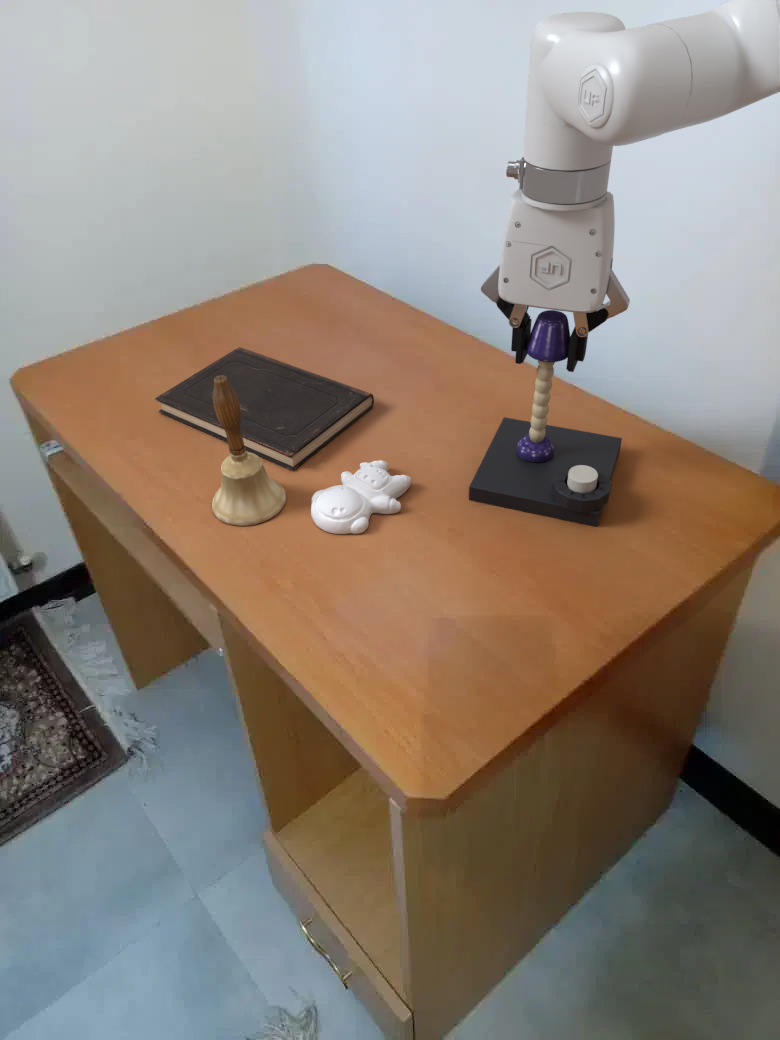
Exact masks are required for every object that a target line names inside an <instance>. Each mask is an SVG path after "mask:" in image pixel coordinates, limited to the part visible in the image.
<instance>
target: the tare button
mask: <svg viewBox="0 0 780 1040" xmlns="http://www.w3.org/2000/svg"><path fill="white" fill-rule="evenodd" d="M597 479H598V473H597V471H596V470H595V469H594V468H592V467H590V466H586V465H577V466H574V467H572V468H571V469H570V470H569V472H568V480H567V486H568V488H569V489H571V490H572V491H574V492H579V493H590V492H593V491H594V490H595V489H596V485H597Z"/></svg>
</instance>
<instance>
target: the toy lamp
mask: <svg viewBox="0 0 780 1040" xmlns="http://www.w3.org/2000/svg"><path fill="white" fill-rule="evenodd" d="M570 336H571V332H570V325H569V319H568V316H567V315H566V314H565V313H564V312H563V311H559V310H551V309H546V310H543V311H541V312H540V313H539V314H538V315H537V317H536V319H535V321H534V323H533V326H532V327H531V333H530V336H529V338H528V341H527V344H526V352H527V356H529V357H530V358H532V359H534V360H536V361H537V364H538V365H537V367H536V371H535V372H536V379H535V382H534V389H535V391H534V393H533V404H532V407H531V414H532V415H531V417H530V418H531V419H530V422H531V428H530V431H529V435H526V436H524V437H523V438H522V439H521V440H520V441H519V443H518V445H517V448H516V451H517V454H518V455H519V456H520V457H521V458H522V459H524V460H527V461H531V462H543V461H547V460H549V459H550V458H552V457H553V455H554V446H553V443H552V442H551V440H550V439H549V438H548V437H546V436H545V427H546V425H548V417H547V416H548V414H549V410H550V405H549V403H550V401H551V390H552V387H553V380H552V379H553V377H554V373H555V368H554V366H555V363H557V362H562V361H564V360H567V359H568V350H569V342H570Z"/></svg>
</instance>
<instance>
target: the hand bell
mask: <svg viewBox="0 0 780 1040" xmlns="http://www.w3.org/2000/svg"><path fill="white" fill-rule="evenodd" d="M213 405H214V410H215V413H216V416H217V418H218V420H219V422H220V424H221V425H222V427H223V428H224V430H225V433H226V436H227V441H228V442H227V446H228V452H229V453H230V455H228V456H227V457H226V458H225V459H224V460H223V461H222V463H221V465H220V475H221V483H220V484H221V485H220V487H219V488H218V489H217V491H216V492H215V494H214V496H213V498H212V501H211V510H212V513H213V515H214V516H215V517H216V518H217V519H218V520H219V521H220V522H223V523H224V524H227V525H231V526H238V527H248V526H249V527H250V526H255V525H258V524H262V523H265V522H266V521H269V520H270V519H273V518H274V517H275V516H277V515H278V514H279V513H280V512H281V511H282V510H283V508H284V506H285V505H286V502H287V492H286V490H285V488H284V487H283V485H282V484H281V483H280V482H279V481H278V480H276V479H274V478H272V477H270V476H269V475H268V473H267V471H266V469H265V466H264V463H263V460H262V458H261V457H260V456H257V455H256V454H254V453H250V452H248V451H246V448H245V445H244V442H243V438H242V435H241V430H240V423H241V408H240V403H239V399H238V396H237V394H236V392H235V390H234V389H233V387H232V386H231V384H230V383H229V381H228V379H227V377H226V376H224V375H220V376H217V377H215V378H214V390H213Z"/></svg>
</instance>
